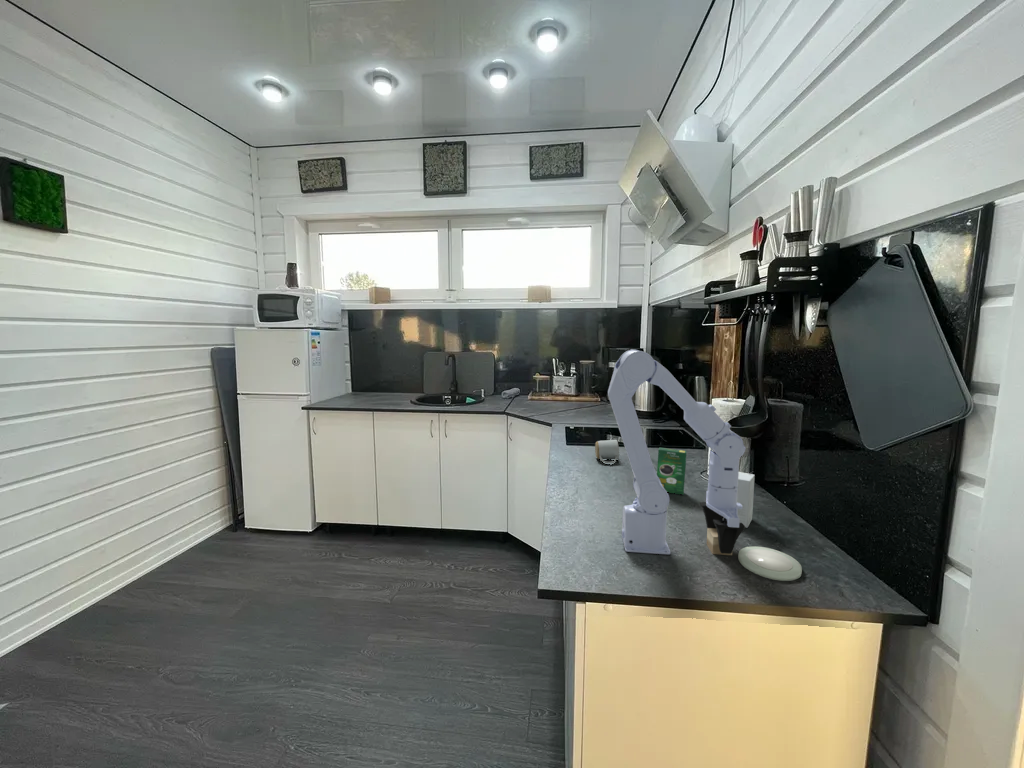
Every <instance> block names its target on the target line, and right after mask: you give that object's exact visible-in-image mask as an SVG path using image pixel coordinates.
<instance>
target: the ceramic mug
mask: <svg viewBox="0 0 1024 768" xmlns="http://www.w3.org/2000/svg"><path fill="white" fill-rule="evenodd" d="M619 448H620V447H619V441H618V440H617V439H606V440H597V441H596V442H595V444H594V452H595V454H594V455H595V458H596V457H597V458H598V459H600V460H599V461H600V462H601V461H602V462H605V463H614V462H617V461H616V460H617V459H618V460H619V458H620V449H619ZM597 458H596V459H597ZM598 459H597V460H598ZM603 459H615V460H614V461H613V460H611V461H608V460H603ZM602 462H601V463H602Z"/></svg>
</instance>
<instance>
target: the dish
mask: <svg viewBox="0 0 1024 768" xmlns="http://www.w3.org/2000/svg"><path fill="white" fill-rule="evenodd" d="M737 557H738V561H739V563H740V564H741V566H742V567H744V568H745V569H746V570H748V571H750V572H751V573H753V574H754V575H757V576H760V577H763V578H766V579H769V580H773V581H774V580H775V581H781V582H788V581H790V582H791V581H796V580H798V579H799V578H800V577H801V576H802V572H803V568H802V565H801V563H800V562H799V561H797V559H795V558H794V557H792V556H791V555H789V554H787V553H785V552H783V551H779V550H776V549H773V548H770V547H764V546H755V545H754V546H746V547H743V548H741V549H739V551H738V556H737Z"/></svg>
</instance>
